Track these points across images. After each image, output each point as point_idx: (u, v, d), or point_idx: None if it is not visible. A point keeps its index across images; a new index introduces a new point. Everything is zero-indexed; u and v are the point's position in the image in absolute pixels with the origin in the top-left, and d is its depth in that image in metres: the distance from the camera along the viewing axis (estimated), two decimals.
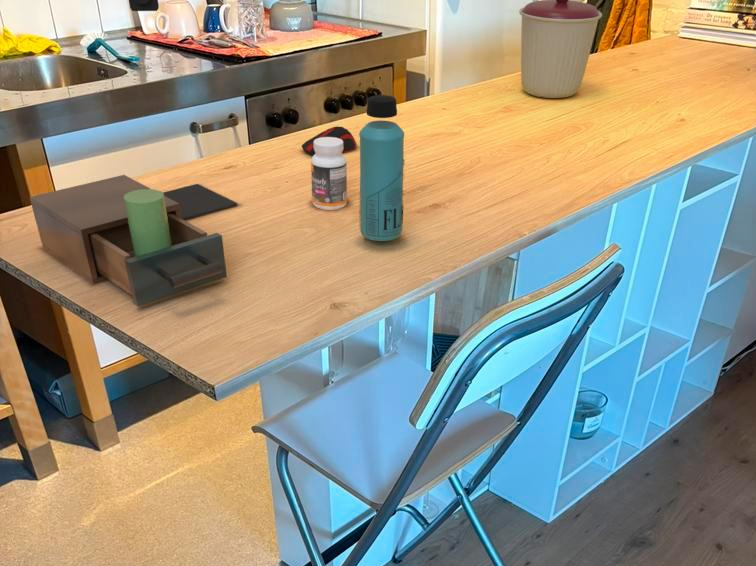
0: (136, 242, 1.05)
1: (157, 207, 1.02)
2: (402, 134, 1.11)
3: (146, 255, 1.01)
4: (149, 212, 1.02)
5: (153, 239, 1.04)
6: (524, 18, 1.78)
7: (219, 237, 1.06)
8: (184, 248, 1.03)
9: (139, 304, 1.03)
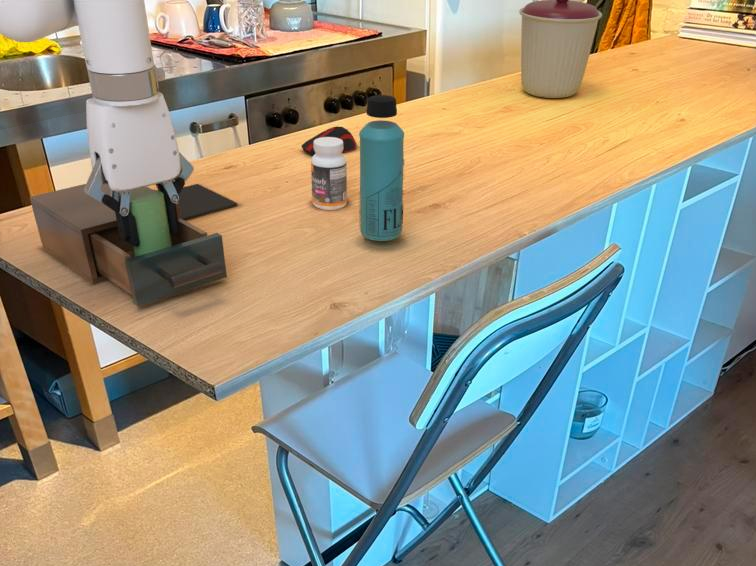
0: None
1: (157, 207, 1.02)
2: (402, 134, 1.11)
3: (146, 255, 1.01)
4: (149, 212, 1.02)
5: (153, 239, 1.04)
6: (524, 18, 1.78)
7: (219, 237, 1.06)
8: (184, 248, 1.03)
9: (139, 304, 1.03)
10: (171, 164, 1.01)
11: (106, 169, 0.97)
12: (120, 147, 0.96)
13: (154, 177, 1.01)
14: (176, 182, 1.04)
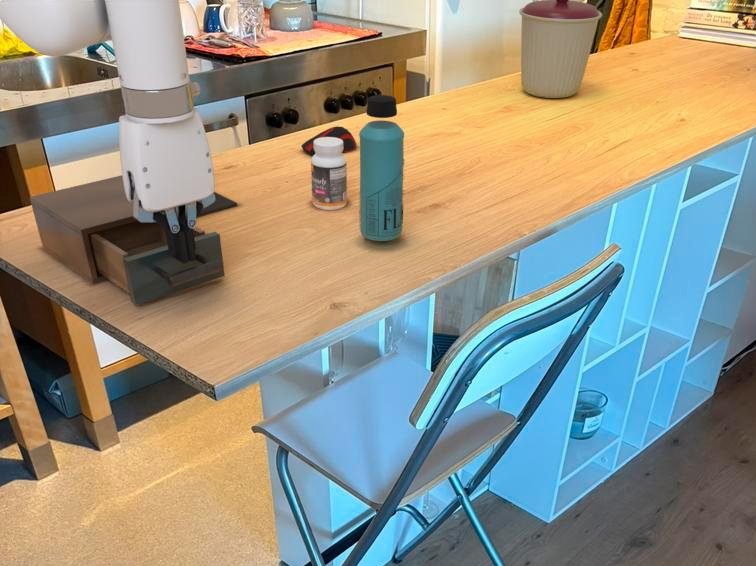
0: None
1: None
2: (402, 134, 1.11)
3: (144, 253, 1.01)
4: None
5: None
6: (524, 18, 1.78)
7: (217, 236, 1.06)
8: None
9: (137, 303, 1.03)
10: (206, 182, 0.97)
11: (139, 189, 0.92)
12: (154, 166, 0.92)
13: (188, 196, 0.96)
14: None
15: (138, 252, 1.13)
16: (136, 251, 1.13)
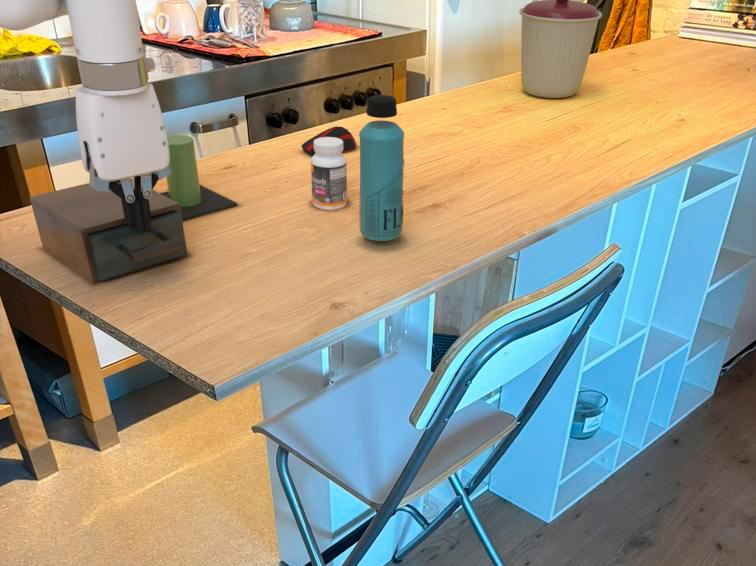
0: (170, 178, 1.27)
1: (188, 149, 1.25)
2: (402, 134, 1.11)
3: (107, 231, 1.06)
4: (181, 152, 1.25)
5: (184, 175, 1.27)
6: (524, 18, 1.78)
7: (179, 215, 1.11)
8: None
9: (102, 278, 1.08)
10: (160, 155, 1.02)
11: (95, 158, 0.97)
12: (109, 136, 0.96)
13: (143, 167, 1.01)
14: None
15: None
16: (104, 231, 1.18)
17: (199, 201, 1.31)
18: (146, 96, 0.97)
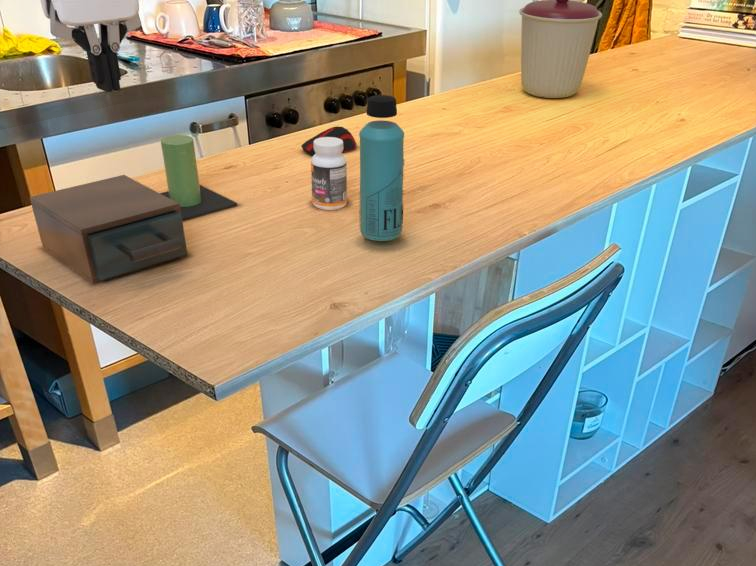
0: (170, 178, 1.27)
1: (188, 149, 1.25)
2: (402, 134, 1.11)
3: (107, 231, 1.06)
4: (181, 152, 1.25)
5: (184, 175, 1.27)
6: (524, 18, 1.78)
7: (179, 215, 1.11)
8: (144, 225, 1.09)
9: (102, 278, 1.08)
10: None
11: None
12: None
13: (109, 12, 0.92)
14: None
15: None
16: (104, 231, 1.18)
17: (199, 201, 1.31)
18: None
